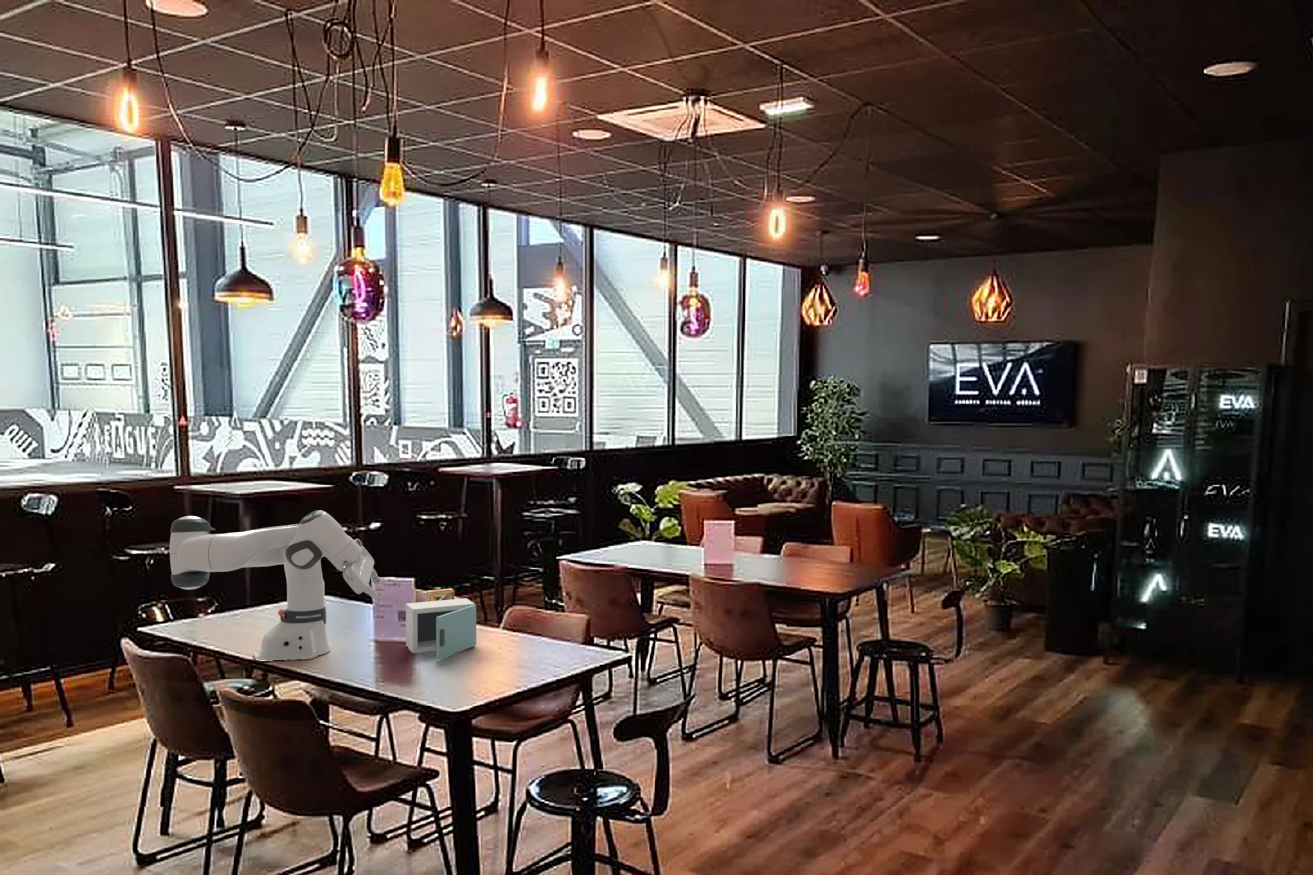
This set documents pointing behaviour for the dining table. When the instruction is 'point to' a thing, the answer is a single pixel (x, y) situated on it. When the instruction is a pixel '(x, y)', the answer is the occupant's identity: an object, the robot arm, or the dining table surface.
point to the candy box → (440, 595)
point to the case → (427, 622)
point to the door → (455, 631)
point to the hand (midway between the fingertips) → (377, 589)
